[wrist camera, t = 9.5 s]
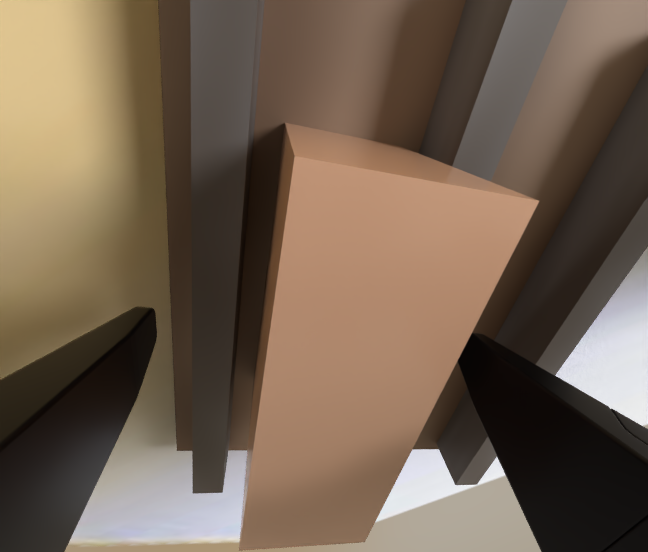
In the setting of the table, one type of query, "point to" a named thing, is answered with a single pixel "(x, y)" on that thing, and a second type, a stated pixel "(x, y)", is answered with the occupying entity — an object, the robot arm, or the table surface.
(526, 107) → the ribbed brown panel
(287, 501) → the terracotta strip
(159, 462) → the table surface
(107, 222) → the table surface
